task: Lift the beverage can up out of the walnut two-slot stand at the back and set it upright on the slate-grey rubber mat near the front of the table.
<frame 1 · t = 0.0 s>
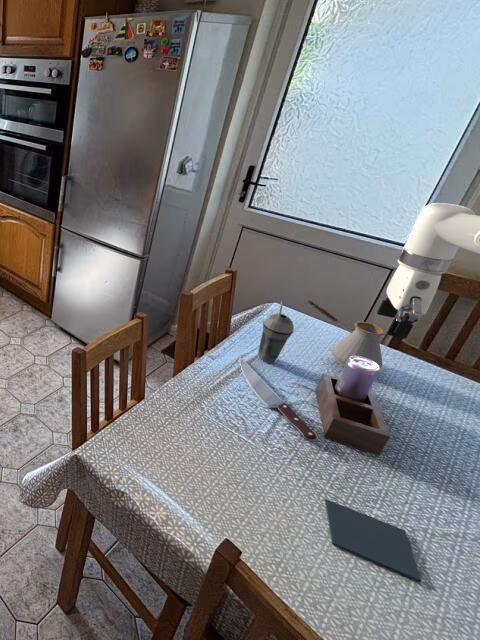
hand: (390, 325, 97), 25 cm above the table, tool pointing down, fingers open, 9 cm apart
beverage cup: (266, 359, 125), on the table
beverage can: (341, 409, 107), resting in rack
coffee pot: (331, 355, 126), on the table
steak knife: (271, 397, 111), on the table
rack: (344, 419, 103), on the table
mat: (368, 537, 78), on the table
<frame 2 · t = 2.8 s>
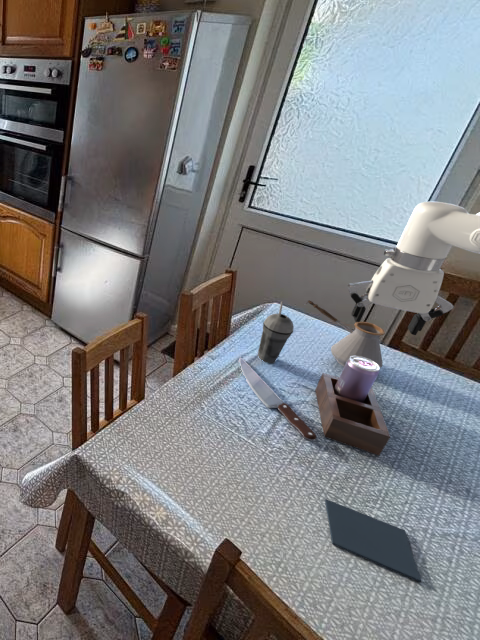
hand: (383, 325, 96), 26 cm above the table, tool pointing down, fingers open, 9 cm apart
nothing on the table moved.
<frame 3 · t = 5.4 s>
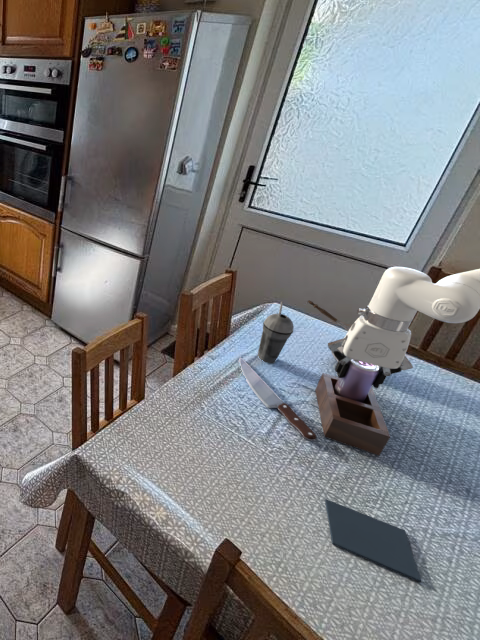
hand: (356, 378, 102), 10 cm above the table, tool pointing down, fingers closed on beverage can, 6 cm apart
beverage can: (341, 409, 107), resting in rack, touching gripper
everything else where it was.
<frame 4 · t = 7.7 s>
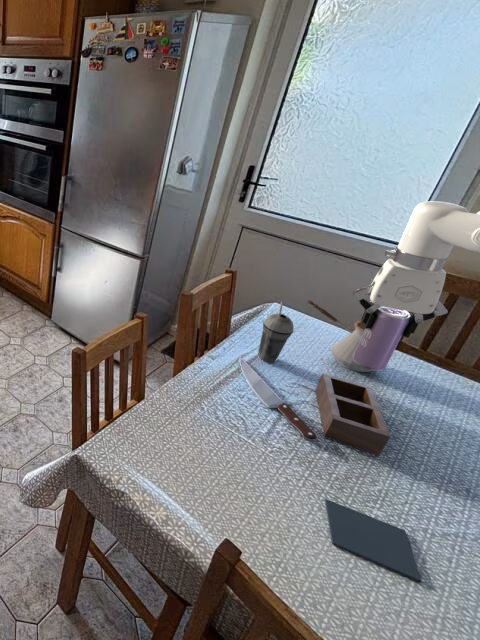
hand: (384, 329, 95), 25 cm above the table, tool pointing down, fingers closed on beverage can, 6 cm apart
beverage can: (367, 364, 99), point 15 cm above the table, touching gripper
everything else where it was.
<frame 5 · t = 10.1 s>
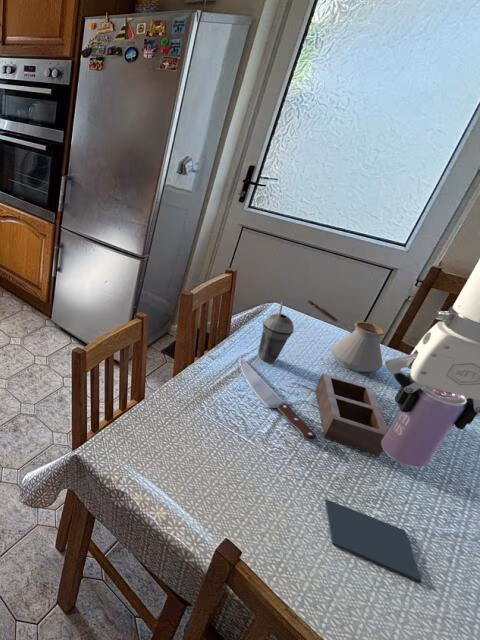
hand: (428, 414, 70), 28 cm above the table, tool pointing down, fingers closed on beverage can, 6 cm apart
beverage can: (401, 455, 74), point 17 cm above the table, touching gripper
everything else where it was.
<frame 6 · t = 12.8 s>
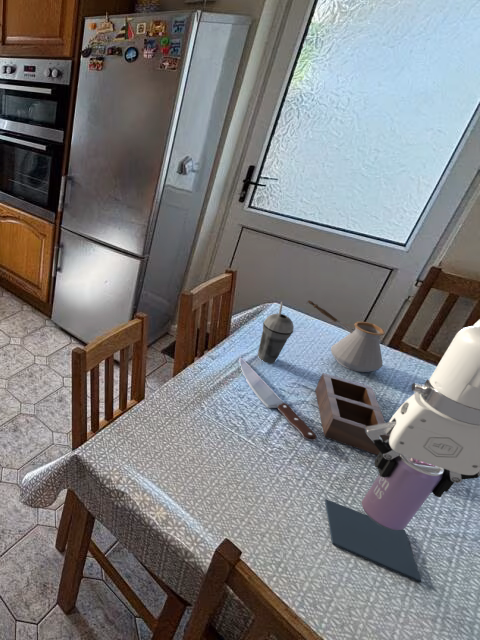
hand: (406, 479, 71), 17 cm above the table, tool pointing down, fingers closed on beverage can, 6 cm apart
beverage can: (381, 516, 75), point 6 cm above the table, touching gripper
everything else where it was.
when the fingers open (11 cm above the table, at t = 14.8 s): beverage can stays where it is, resting on mat.
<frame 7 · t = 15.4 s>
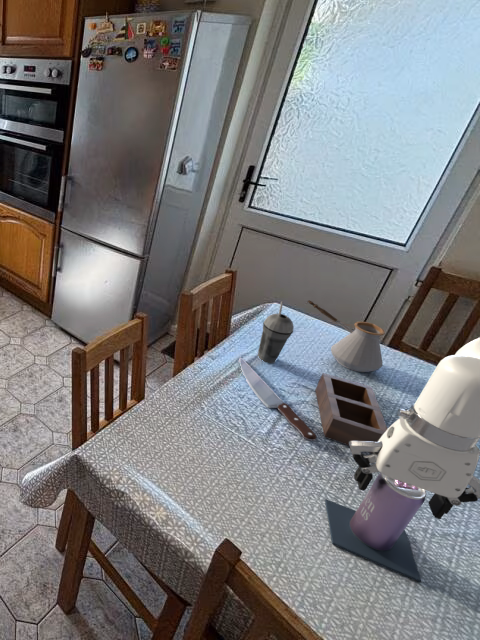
hand: (395, 497, 73), 12 cm above the table, tool pointing down, fingers open, 9 cm apart
beverage can: (368, 536, 78), resting on mat
everything else where it was.
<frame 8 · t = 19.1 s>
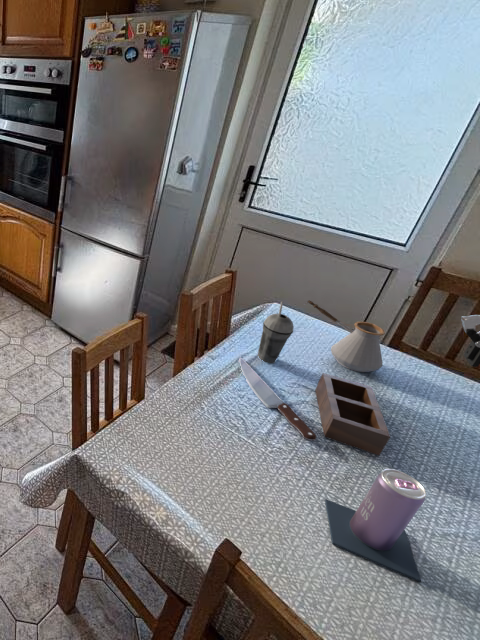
nothing on the table moved.
at the end: beverage can inside the target area on the mat (0.1 cm from its centre), point 0.3 cm above the mat's base; beverage can tilted 0°; the gripper is holding nothing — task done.
